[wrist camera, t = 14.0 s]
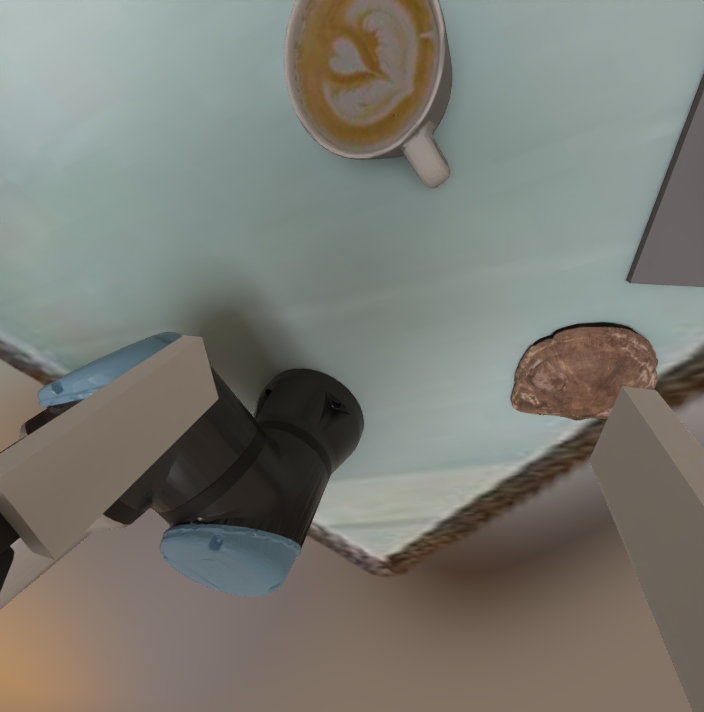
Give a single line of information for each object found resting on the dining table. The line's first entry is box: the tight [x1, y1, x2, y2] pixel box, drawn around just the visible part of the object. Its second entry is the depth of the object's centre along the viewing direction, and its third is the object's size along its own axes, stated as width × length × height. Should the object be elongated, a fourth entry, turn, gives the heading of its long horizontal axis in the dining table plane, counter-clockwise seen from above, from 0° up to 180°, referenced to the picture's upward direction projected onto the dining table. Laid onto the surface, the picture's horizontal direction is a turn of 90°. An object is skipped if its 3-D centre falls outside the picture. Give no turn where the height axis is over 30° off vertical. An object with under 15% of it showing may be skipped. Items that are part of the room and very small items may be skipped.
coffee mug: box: [284, 0, 452, 188], centre depth 25 cm, size 13×10×10 cm
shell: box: [511, 323, 658, 420], centre depth 35 cm, size 12×13×4 cm
